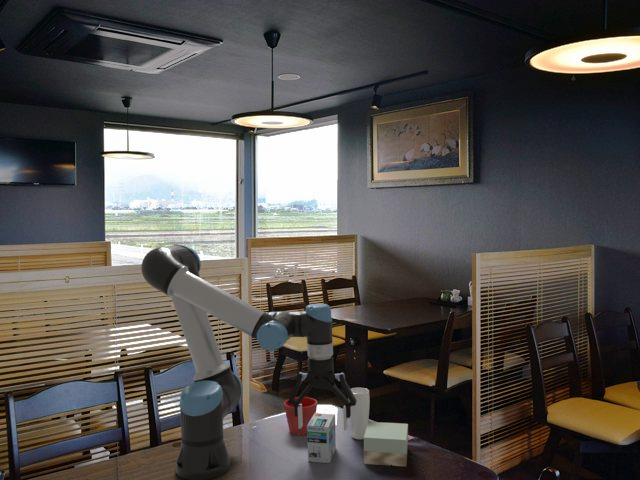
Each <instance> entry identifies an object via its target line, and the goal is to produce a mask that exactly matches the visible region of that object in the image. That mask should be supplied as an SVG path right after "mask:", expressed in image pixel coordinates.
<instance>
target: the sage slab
mask: <svg viewBox="0 0 640 480" xmlns="http://www.w3.org/2000/svg"><path fill="white" fill-rule="evenodd" d="M408 439H409V424H408V423H401V422H400V423H399V422H377V421H368V425H367V428H366V432H365V435H364V439H363V452H364V451H369V452H384V453H399V454H406V453H407V454H408V443H409V442H408Z"/></svg>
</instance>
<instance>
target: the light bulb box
mask: <svg viewBox="0 0 640 480" xmlns="http://www.w3.org/2000/svg"><path fill="white" fill-rule="evenodd" d="M306 435H307V438H306V439H307V461H311V462H310V463H322V464H323V463H324V464H330V463H331V461H332V458H333V456H334V454H335V452H336V449H337V448H336V447H337V445H336V444H337V443H336V442H337V441H336V440H337V439H336V414H332V413H318V412H316V413H314V415H313V417H312V418H311V420H310V422H309V423H308V425H307V434H306Z"/></svg>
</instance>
